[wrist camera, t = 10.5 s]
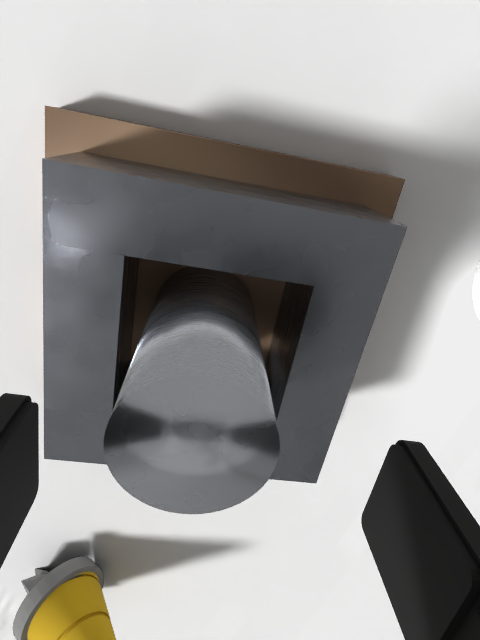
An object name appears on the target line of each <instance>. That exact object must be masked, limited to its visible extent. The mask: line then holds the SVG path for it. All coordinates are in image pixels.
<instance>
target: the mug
mask: <svg viewBox="0 0 480 640" xmlns="http://www.w3.org/2000/svg"><path fill="white" fill-rule="evenodd" d="M472 297H473V306H474V309H475V312H476V315H477V317H478V320H479V321H480V260H479V262H478V265H477V268H476V271H475V275H474V278H473V287H472Z"/></svg>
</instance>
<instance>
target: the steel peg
mask: <svg viewBox="0 0 480 640" xmlns="http://www.w3.org/2000/svg"><path fill="white" fill-rule="evenodd" d="M279 452H280V439H279V432H278V427H277V422H276V417H275V413H274V408H273V403H272V398H271V393H270V388H269V383H268V378H267V373H266V368H265V363H264V358H263V353H262V348H261V344H260V339H259V334H258V329H257V324H256V319H255V314H254V309H253V304H252V300H251V296H250V294H249V292H248V290H247V288H246V286H245V285H244V284H243V282H242V281H241V280H240V279H239V278H238V277H237V276H235V275H234V274H233V273H229V272H223V271H217V270H211V269H204V268H198V267H192V266H188V267H185V268H183V269H180V270H179V271H177V272H175V273H174V274H172V275H171V276H170V277H169V278H168V279H167V280H166V281H165V282H164V283H163V285H162V286H161V288H160V290H159V292H158V294H157V297H156V299H155V302H154V305H153V307H152V310H151V312H150V315H149V318H148V320H147V323H146V325H145V328H144V331H143V333H142V336H141V338H140V341H139V344H138V346H137V349H136V351H135V354H134V357H133V359H132V362H131V364H130V367H129V370H128V372H127V375H126V377H125V380H124V383H123V385H122V388H121V390H120V393H119V396H118V398H117V401H116V403H115V406H114V409H113V411H112V414H111V416H110V419H109V422H108V424H107V427H106V430H105V435H104V454H105V459H106V462H107V465H108V467H109V469H110V471H111V473H112V475H113V476H114V478H115V479H116V481H117V482H118V483H119V484H120V485H121V486H122V487H123V489H125V490H126V491H127V492H128V493H129V494H131V495H132V496H133V497H135V498H136V499H138V500H140V501H141V502H143V503H145V504H147V505H149V506H152V507H155V508H158V509H161V510H164V511H168V512H174V513H181V514H203V513H211V512H216V511H220V510H224V509H227V508H230V507H232V506H234V505H237V504H239V503H241V502H243V501H244V500H246V499H248V498H249V497H251V496H252V495H253V494H255V493H256V492H257V491H258V490H259V489H260V488H261V487H262V486H264V484H265V483H266V482H267V481H268V479H269V478H270V476H271V475H272V473H273V471H274V469H275V467H276V464H277V462H278V457H279Z"/></svg>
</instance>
